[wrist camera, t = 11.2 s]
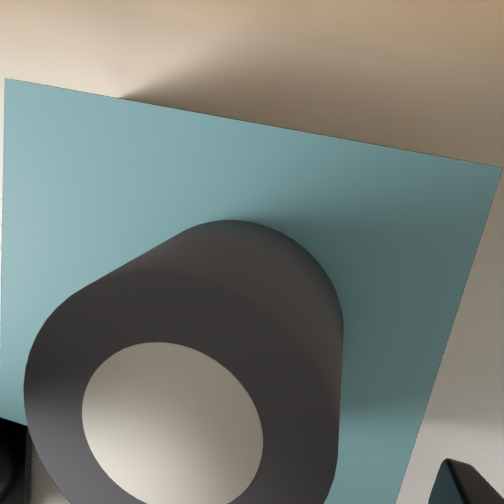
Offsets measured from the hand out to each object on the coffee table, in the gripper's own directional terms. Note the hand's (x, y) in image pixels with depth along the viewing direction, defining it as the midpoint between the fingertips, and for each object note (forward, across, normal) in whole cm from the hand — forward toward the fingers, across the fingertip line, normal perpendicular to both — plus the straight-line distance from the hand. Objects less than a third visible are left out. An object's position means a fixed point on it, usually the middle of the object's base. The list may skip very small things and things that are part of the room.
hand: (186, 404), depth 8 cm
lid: (+4, +1, 0) cm, 5 cm away
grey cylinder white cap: (+4, 0, 0) cm, 4 cm away
